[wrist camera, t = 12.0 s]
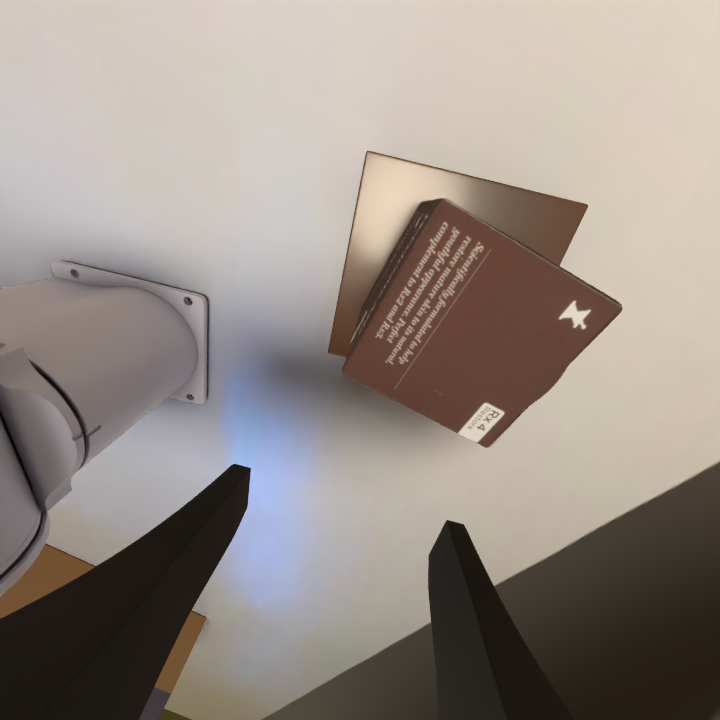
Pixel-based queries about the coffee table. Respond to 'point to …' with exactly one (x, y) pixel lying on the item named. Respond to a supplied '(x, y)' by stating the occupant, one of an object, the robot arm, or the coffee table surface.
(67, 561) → the toy building blocks
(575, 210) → the copper block
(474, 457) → the coffee table surface
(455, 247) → the box
